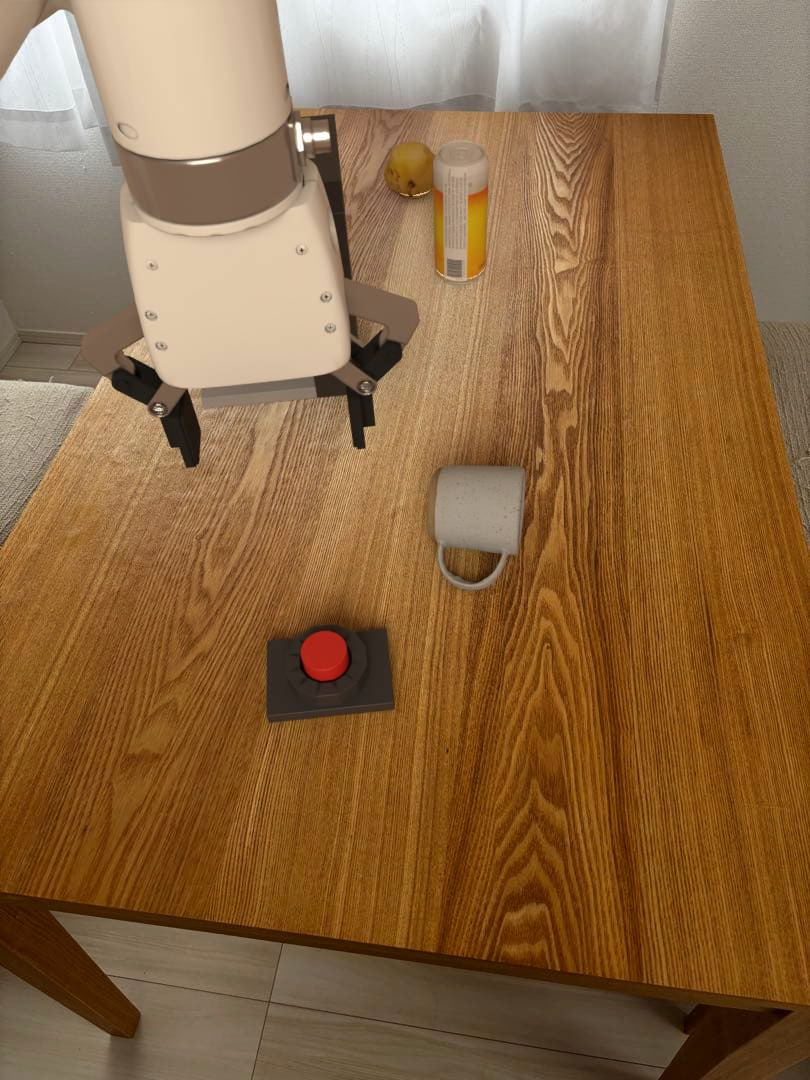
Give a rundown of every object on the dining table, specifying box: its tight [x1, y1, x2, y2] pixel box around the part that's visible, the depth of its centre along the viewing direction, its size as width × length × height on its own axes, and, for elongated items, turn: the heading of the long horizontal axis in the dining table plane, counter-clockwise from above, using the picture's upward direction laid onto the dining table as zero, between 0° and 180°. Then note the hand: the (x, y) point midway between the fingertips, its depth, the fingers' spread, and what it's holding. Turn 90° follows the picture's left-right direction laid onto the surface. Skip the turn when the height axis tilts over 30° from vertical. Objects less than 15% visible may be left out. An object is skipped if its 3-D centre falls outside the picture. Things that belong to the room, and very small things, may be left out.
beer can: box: [432, 139, 490, 286], centre depth 99 cm, size 6×6×15 cm
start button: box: [301, 631, 349, 681], centre depth 68 cm, size 4×4×2 cm
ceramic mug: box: [427, 464, 526, 591], centre depth 76 cm, size 11×8×8 cm
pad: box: [265, 623, 395, 724], centre depth 70 cm, size 10×7×3 cm
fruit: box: [383, 141, 436, 199], centre depth 114 cm, size 7×7×10 cm
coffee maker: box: [200, 113, 360, 410], centre depth 86 cm, size 17×12×24 cm
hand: (276, 441), depth 51 cm, fingers open, 9 cm apart
